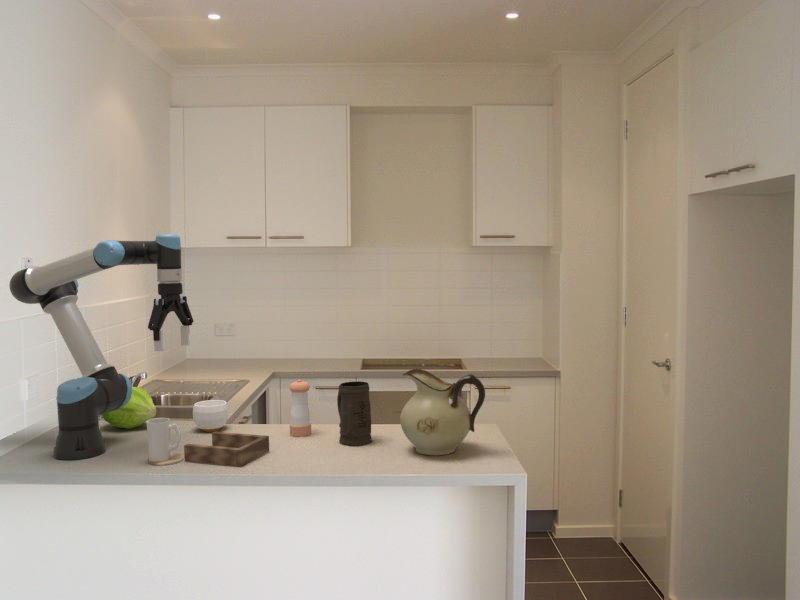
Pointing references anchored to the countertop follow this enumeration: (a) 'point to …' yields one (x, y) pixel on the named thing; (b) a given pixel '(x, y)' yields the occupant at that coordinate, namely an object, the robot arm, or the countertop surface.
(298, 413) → the salt shaker
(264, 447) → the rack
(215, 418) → the white bowl
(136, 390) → the lettuce
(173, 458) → the coaster
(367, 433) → the beer stein
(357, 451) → the countertop surface
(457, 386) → the pitcher
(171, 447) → the mug
